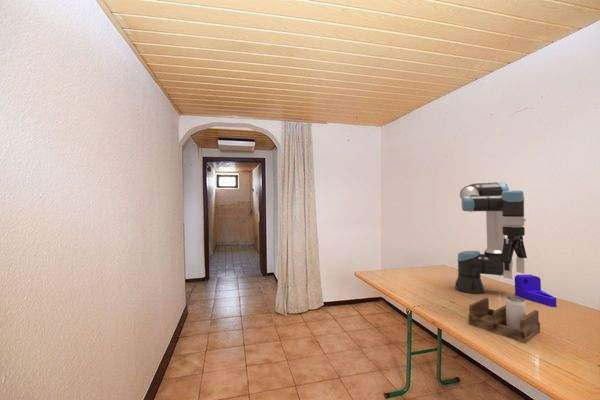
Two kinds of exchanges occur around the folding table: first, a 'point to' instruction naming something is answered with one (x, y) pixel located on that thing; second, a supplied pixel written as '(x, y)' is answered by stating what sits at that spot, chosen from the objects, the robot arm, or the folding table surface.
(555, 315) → the folding table surface
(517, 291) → the bracket
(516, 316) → the can
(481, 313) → the rack
